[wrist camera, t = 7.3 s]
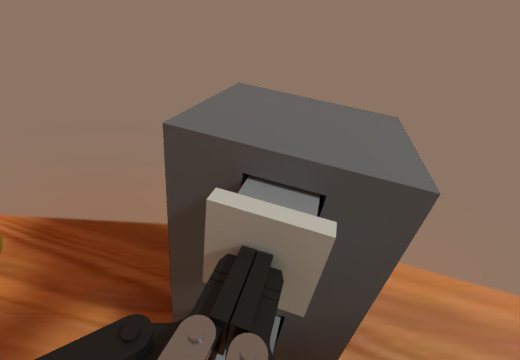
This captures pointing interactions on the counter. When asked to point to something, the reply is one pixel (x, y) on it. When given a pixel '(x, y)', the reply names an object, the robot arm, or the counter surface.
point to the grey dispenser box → (307, 178)
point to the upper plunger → (271, 234)
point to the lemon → (0, 243)
